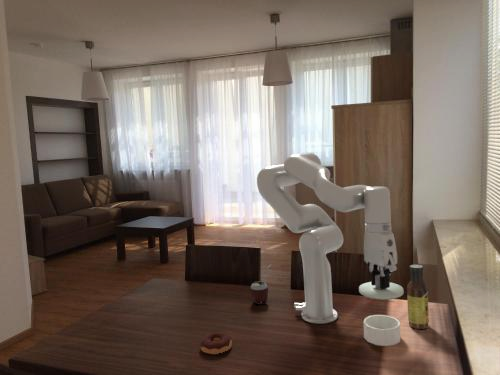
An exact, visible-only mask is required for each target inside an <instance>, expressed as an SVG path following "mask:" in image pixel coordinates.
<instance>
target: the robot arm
mask: <svg viewBox="0 0 500 375" xmlns="http://www.w3.org/2000/svg"><path fill="white" fill-rule="evenodd" d="M330 179H331V171H330V170H329V169H328V168H327V167H325V166H324V165H322V161H321V158H319V156H318V155H316V154H315V153H312V152H305V153H294V154H291V155H289V156H288V157H286V159H285V161H284V162H283V164H278V165H277V164H276V165H275V164H274V165H270V166H265V167H264V168H262V169H260V170H259V172H258V174H257V177H256V186H257V190H258V192H259V194H260V196H261V197H262V198H263V200H264V201H265V202H266V203H267V204H268V205H269V206H270V207H271V208H272V209H273V211H275V213H276V214H277V216H278V217H279V218H280V219H281V220H282V222H283V223H284V224H285V226H286V227H287V228H288V229H289V230H290V231H291V232H292V233H295V234H301V233H302V234H301V236H300V237H299V241H298V247H299V251H300V255H301V261H302V268H303V270H302V272H303V283H304V284H303V286H304V302H301V303H300V302H294V304H293V307H294V309H295V311H301V318H302V319H303V320H304V321H306V322H307V323H311V324H320V325H322V324H328V323H329V324H330V323H332V322H334V321H336V320H337V319H338V312H337V311H336V310H335V309H334V308H333V306H334V305H333V287H332V285H333V284H332V272H331V270H332V268H331V263H330V261H329V259H328V258H327V254H329V253H332V252H334V251H337V250H339V249H340V248H341V247H342V246H343V243H344V235H343V232H342V231H341V228H340V227H339V226H338V225H337V224H336V223H335V221H333V220H334V219H332V218H331V217H330V216H329V215H328V213H327V212H326V211H325V210H324V209H323V208H322V207H321V206H319V205H317V204H315V203H308V204H307V203H306V204H300V203H299V202H298V201H297V200H296V198H294V197H293V195H291V193H289V192H288V191H286V190H285V189H283V188H284V187H290V186H294V185H296V184H299V183H302V184H304V185H305V186H307V187H308V188H311V189H312V190H314V193H315V195H316V197H317V199H318V200H319V201H321V203H323V204H325V205H326V206H328V207H329V208H331V209H333V210H335V211H338V212H340V213H348V212H352V211H356V210H360V209H364V226H365V227H364V228H365V230H364V236H363V256H364V258H363V261H364V262H365V263H366V265H367V266H368V270H369V272H370V278H371V279H370V282H371V284H372V285H375V275H377V274H381V276H380V288H381V289H385V288H389V287H390V276H391V275H392V273H393V272H394V271H397V270H398V268H397V264H398V252H397V244H396V239H395V236H394V233H393V232H392V230H393V227H392V219H391V218H392V216H391V213H392V212H391V191H390V189H389V188H388V187H386V186H382V185H381V186H379V185H378V186H377V185H375V186H369V185H366V184H356V185H351V186H350V185H349V186H345V187H341V186H340V185H337V184H335V183H333V182H332V181H330Z"/></svg>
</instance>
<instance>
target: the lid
mask: <svg viewBox="0 0 500 375" xmlns="http://www.w3.org/2000/svg"><path fill="white" fill-rule="evenodd" d="M380 276H381V273H380V274H377V275H375V285H372V284H371V281H368V282H365V283H361V284H360V285H359V286H358V292H359V293H360V294H361V295H362V296H363V297H366V298H369V299H373V300H375V299H376V300H394V299H398V298H400V297H401V296H403V295H404V293H405V292H404V288H403V287H402V286H401V285H400V284H397V283H394V282H390V287H389V288H385V289H381V288H380Z"/></svg>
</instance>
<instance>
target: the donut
mask: <svg viewBox="0 0 500 375" xmlns="http://www.w3.org/2000/svg"><path fill="white" fill-rule="evenodd" d="M232 340H233V338H232V336H231V334H229V333H228V332H223V331H218V332H217V331H216V332H210V333H207V334H206V335H204V336H203V337H202V338H201V340H200V343H199V344H200V350H201V351H202V352H203V353H205V354H209V355H220V354H219V353H221V354H223V352H224V353H226V352H227V351H230V349H231V348H232V345H233V341H232ZM225 351H226V352H225Z"/></svg>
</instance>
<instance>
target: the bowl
mask: <svg viewBox="0 0 500 375" xmlns="http://www.w3.org/2000/svg"><path fill="white" fill-rule="evenodd" d="M363 338H364V339H365V340H366V341H367V342H368V343H370V344H372V345H375V346H381V347H388V346H389V347H390V346H395V345H397V344H398V343H400V342H401V322H400V320H399V319H397V318H396V317H393V316H390V315H387V314H373V315H368V316H366V317H365V318H364V320H363Z"/></svg>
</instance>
